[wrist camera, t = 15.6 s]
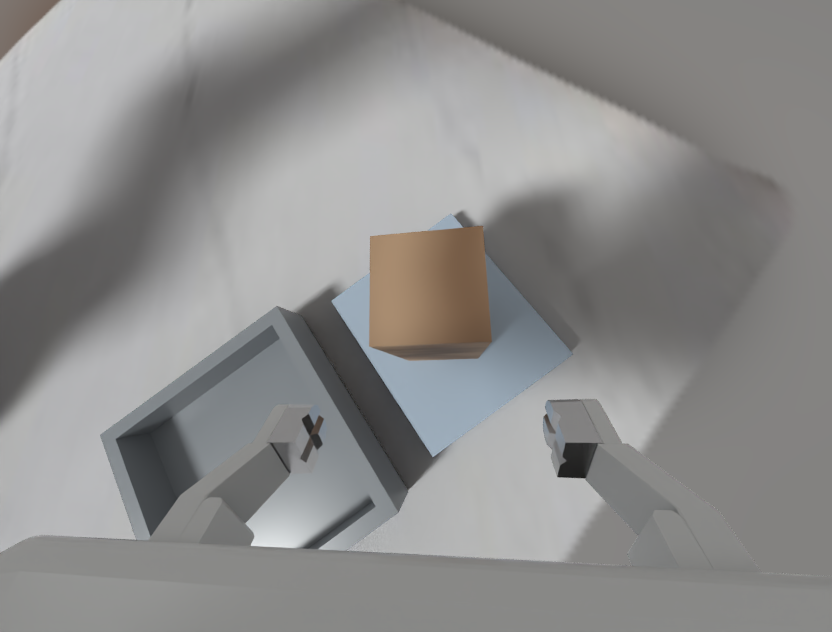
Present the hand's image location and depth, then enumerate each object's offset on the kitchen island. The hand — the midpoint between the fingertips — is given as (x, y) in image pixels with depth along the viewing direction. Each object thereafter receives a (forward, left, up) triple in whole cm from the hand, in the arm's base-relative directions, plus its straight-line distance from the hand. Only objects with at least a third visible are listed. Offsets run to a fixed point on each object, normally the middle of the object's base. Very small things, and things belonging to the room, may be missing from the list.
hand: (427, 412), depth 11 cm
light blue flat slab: (-4, +3, -12) cm, 13 cm away
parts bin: (-4, -14, -12) cm, 19 cm away
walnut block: (-4, +3, -11) cm, 12 cm away
